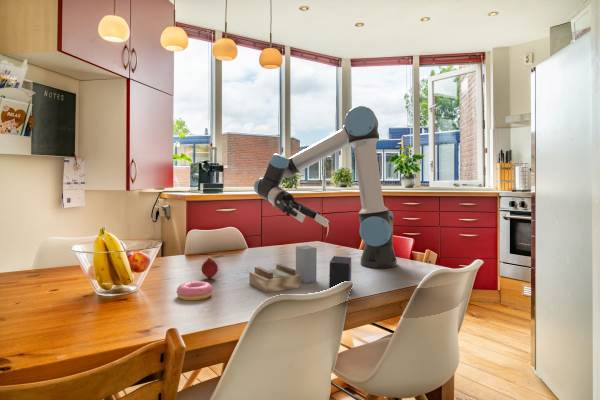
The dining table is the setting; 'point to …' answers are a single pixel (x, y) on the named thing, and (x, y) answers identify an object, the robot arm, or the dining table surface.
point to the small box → (339, 270)
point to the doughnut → (194, 290)
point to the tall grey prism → (306, 263)
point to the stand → (275, 278)
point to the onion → (209, 268)
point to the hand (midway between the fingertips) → (315, 221)
